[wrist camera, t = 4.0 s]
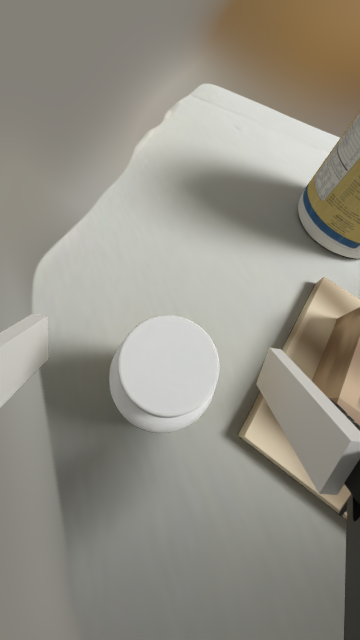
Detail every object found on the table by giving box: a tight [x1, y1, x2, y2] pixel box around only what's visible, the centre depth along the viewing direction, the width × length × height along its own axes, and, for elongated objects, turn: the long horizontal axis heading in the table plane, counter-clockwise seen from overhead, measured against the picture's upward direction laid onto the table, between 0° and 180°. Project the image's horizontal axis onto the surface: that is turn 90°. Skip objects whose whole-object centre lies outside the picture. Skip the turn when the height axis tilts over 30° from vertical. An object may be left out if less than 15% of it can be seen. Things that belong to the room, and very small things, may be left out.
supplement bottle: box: [109, 315, 219, 433], centre depth 13 cm, size 5×5×10 cm
